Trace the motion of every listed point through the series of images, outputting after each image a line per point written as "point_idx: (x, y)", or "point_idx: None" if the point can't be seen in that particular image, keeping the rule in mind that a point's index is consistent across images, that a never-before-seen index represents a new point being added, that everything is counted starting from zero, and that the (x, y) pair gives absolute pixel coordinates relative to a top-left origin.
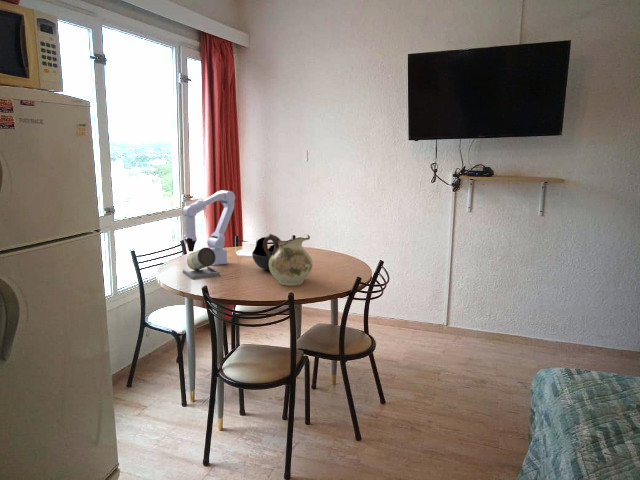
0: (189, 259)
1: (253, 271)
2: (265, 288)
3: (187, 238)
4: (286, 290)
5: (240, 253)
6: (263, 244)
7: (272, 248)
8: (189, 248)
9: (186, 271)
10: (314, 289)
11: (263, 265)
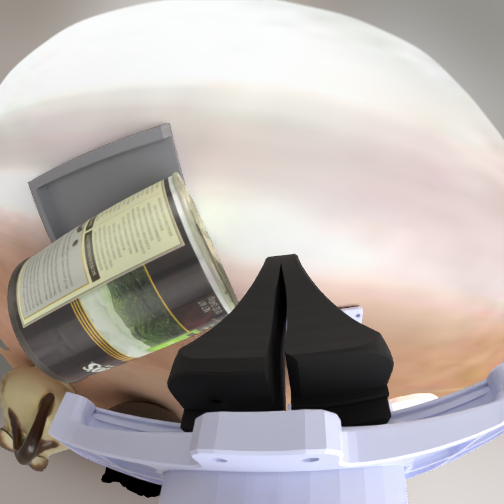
0: (130, 203)
1: (141, 383)
2: (11, 331)
3: (370, 397)
4: (13, 349)
5: (397, 406)
6: (26, 439)
7: None
8: (256, 280)
9: (103, 150)
10: None
11: (111, 407)
